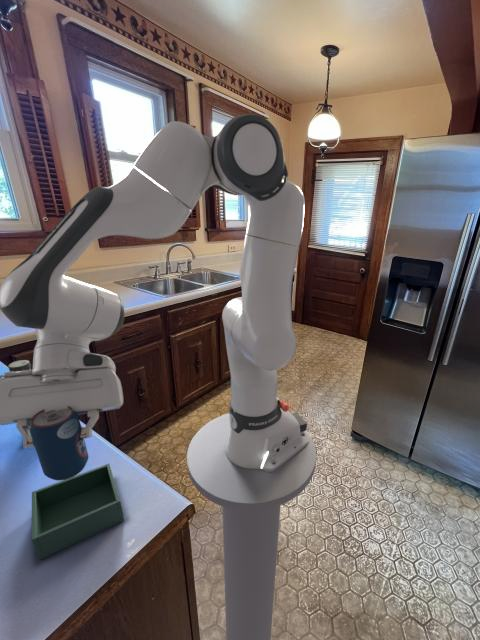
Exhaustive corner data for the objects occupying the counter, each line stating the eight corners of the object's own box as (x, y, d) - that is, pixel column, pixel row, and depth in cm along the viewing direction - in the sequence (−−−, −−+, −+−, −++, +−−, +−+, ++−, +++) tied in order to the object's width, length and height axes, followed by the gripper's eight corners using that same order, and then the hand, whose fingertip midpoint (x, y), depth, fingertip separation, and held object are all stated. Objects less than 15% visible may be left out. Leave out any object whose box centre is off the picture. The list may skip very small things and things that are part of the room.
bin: (113, 480, 68) (109, 463, 66) (124, 520, 60) (120, 501, 58) (38, 510, 61) (31, 492, 59) (39, 560, 53) (31, 540, 51)
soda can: (96, 467, 58) (83, 414, 53) (52, 490, 53) (33, 434, 48) (81, 449, 62) (68, 398, 57) (39, 469, 57) (21, 415, 52)
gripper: (-16, 368, 52) (-27, 453, 48) (118, 355, 59) (119, 430, 54) (3, 377, 58) (-5, 455, 54) (124, 365, 65) (126, 433, 60)
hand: (59, 442), depth 54 cm, fingers closed on soda can, 7 cm apart
